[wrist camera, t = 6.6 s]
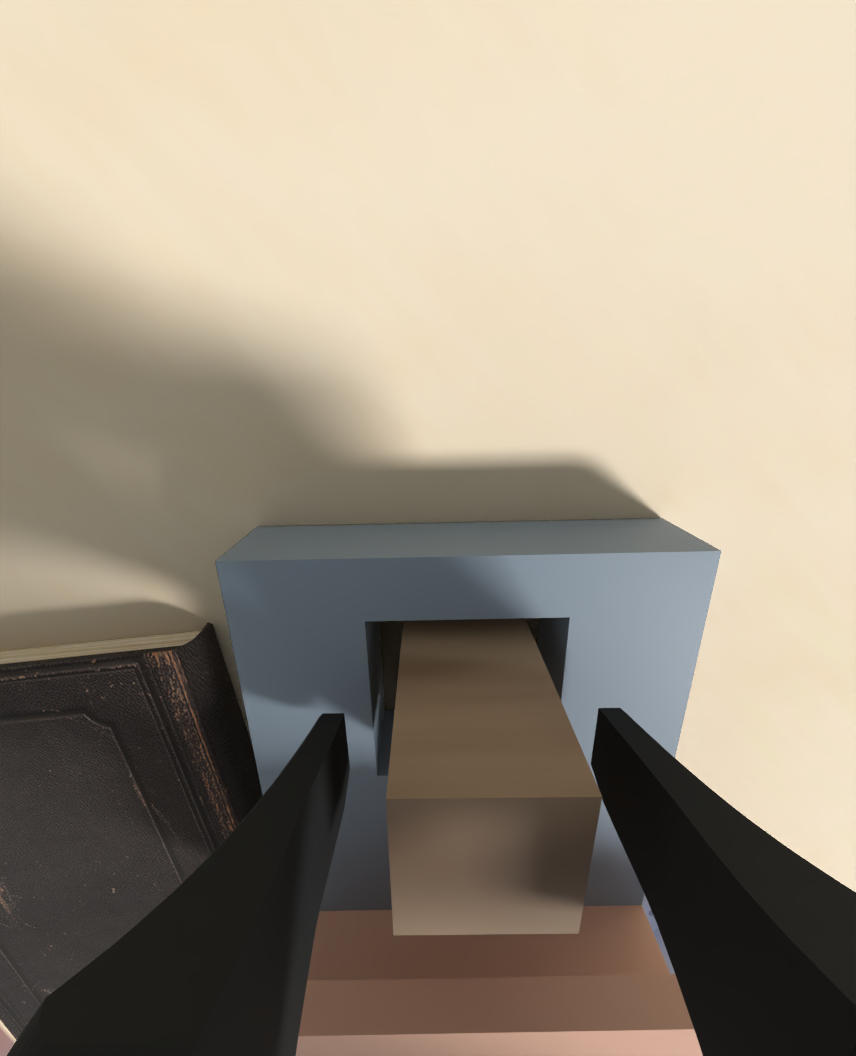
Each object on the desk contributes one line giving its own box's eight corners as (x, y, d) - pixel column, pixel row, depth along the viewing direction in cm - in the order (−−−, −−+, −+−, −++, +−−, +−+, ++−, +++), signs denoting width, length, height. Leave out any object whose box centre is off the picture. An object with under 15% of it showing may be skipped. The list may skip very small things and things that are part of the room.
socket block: (607, 843, 19) (638, 921, 17) (309, 848, 19) (289, 927, 17) (662, 518, 14) (721, 551, 11) (257, 526, 14) (215, 561, 11)
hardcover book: (59, 989, 24) (23, 1049, 22) (-170, 655, 17) (-259, 696, 14) (331, 968, 23) (322, 1028, 21) (220, 614, 16) (188, 650, 14)
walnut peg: (508, 683, 17) (578, 933, 9) (408, 683, 16) (393, 935, 9) (514, 593, 15) (602, 797, 8) (405, 594, 15) (385, 799, 8)
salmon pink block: (638, 921, 17) (722, 1134, 12) (289, 927, 17) (235, 1142, 12) (660, 823, 15) (769, 1028, 10) (269, 830, 15) (196, 1038, 10)
